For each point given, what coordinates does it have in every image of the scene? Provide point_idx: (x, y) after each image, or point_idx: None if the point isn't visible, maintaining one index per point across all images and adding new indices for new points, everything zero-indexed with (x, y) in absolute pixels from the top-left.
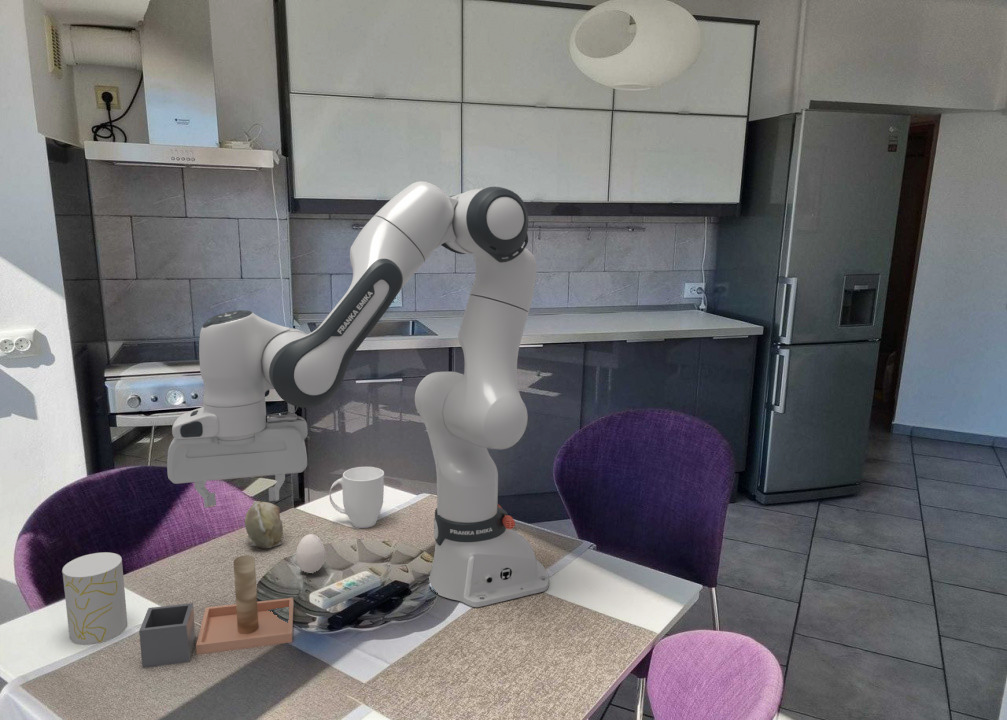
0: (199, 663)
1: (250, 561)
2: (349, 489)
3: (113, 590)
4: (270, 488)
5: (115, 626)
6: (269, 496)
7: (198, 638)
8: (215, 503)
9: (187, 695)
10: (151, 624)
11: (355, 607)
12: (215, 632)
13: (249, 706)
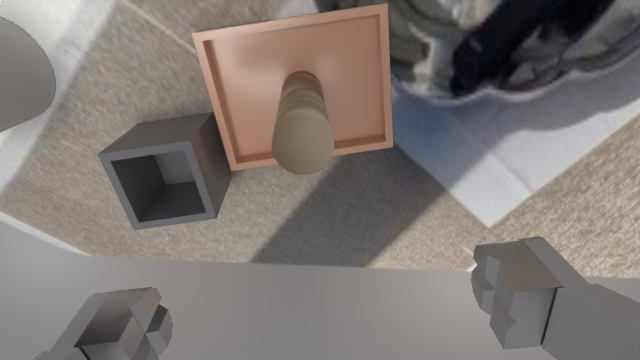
0: (245, 174)
1: (324, 156)
2: None
3: None
4: (522, 308)
5: (34, 103)
6: (487, 299)
7: (227, 151)
8: (158, 302)
9: (256, 238)
10: (128, 162)
11: (514, 9)
12: (242, 100)
13: (343, 259)
